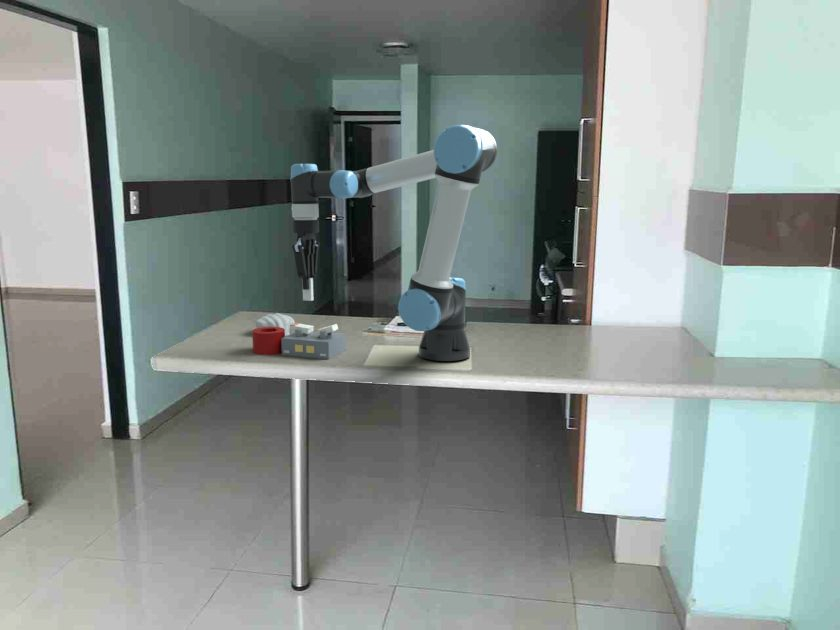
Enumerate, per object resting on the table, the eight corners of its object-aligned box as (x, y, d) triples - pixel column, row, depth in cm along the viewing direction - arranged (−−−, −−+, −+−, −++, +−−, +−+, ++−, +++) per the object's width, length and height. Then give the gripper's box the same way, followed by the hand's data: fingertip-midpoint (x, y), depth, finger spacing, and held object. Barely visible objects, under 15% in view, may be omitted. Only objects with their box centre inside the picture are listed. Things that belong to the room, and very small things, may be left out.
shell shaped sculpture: (259, 330, 230) (258, 311, 228) (297, 330, 230) (296, 311, 229) (252, 339, 217) (251, 319, 216) (292, 338, 218) (291, 319, 216)
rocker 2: (338, 328, 198) (336, 323, 198) (333, 331, 195) (331, 325, 195) (321, 334, 200) (319, 328, 200) (315, 336, 197) (313, 331, 197)
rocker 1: (313, 331, 201) (313, 325, 201) (307, 333, 198) (308, 327, 197) (295, 328, 203) (295, 322, 202) (289, 330, 199) (289, 324, 199)
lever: (274, 357, 195) (273, 334, 194) (246, 354, 198) (245, 332, 197) (305, 343, 212) (305, 322, 210) (279, 341, 215) (279, 320, 214)
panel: (345, 349, 204) (345, 326, 202) (328, 359, 192) (327, 334, 191) (301, 345, 208) (300, 322, 207) (281, 355, 197) (280, 331, 195)
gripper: (304, 217, 200) (306, 296, 205) (282, 219, 188) (285, 303, 193) (327, 218, 198) (329, 297, 203) (306, 220, 186) (309, 304, 190)
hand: (308, 300), depth 198 cm, fingers closed
